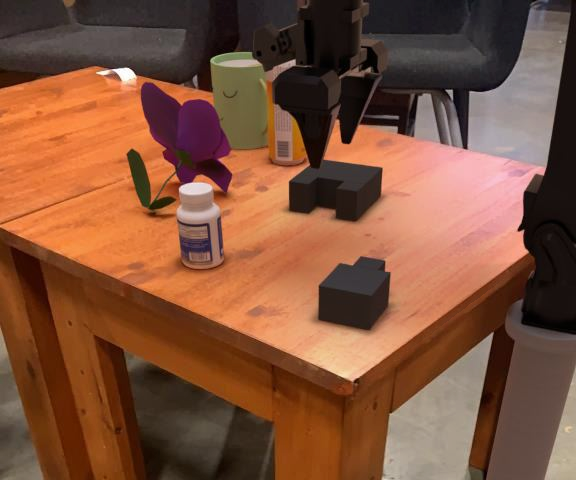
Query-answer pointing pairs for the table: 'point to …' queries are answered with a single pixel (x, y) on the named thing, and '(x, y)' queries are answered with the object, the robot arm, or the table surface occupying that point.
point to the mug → (240, 99)
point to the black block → (355, 293)
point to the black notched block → (336, 188)
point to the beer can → (282, 127)
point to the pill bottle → (199, 227)
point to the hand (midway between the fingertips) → (331, 155)
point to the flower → (181, 143)
